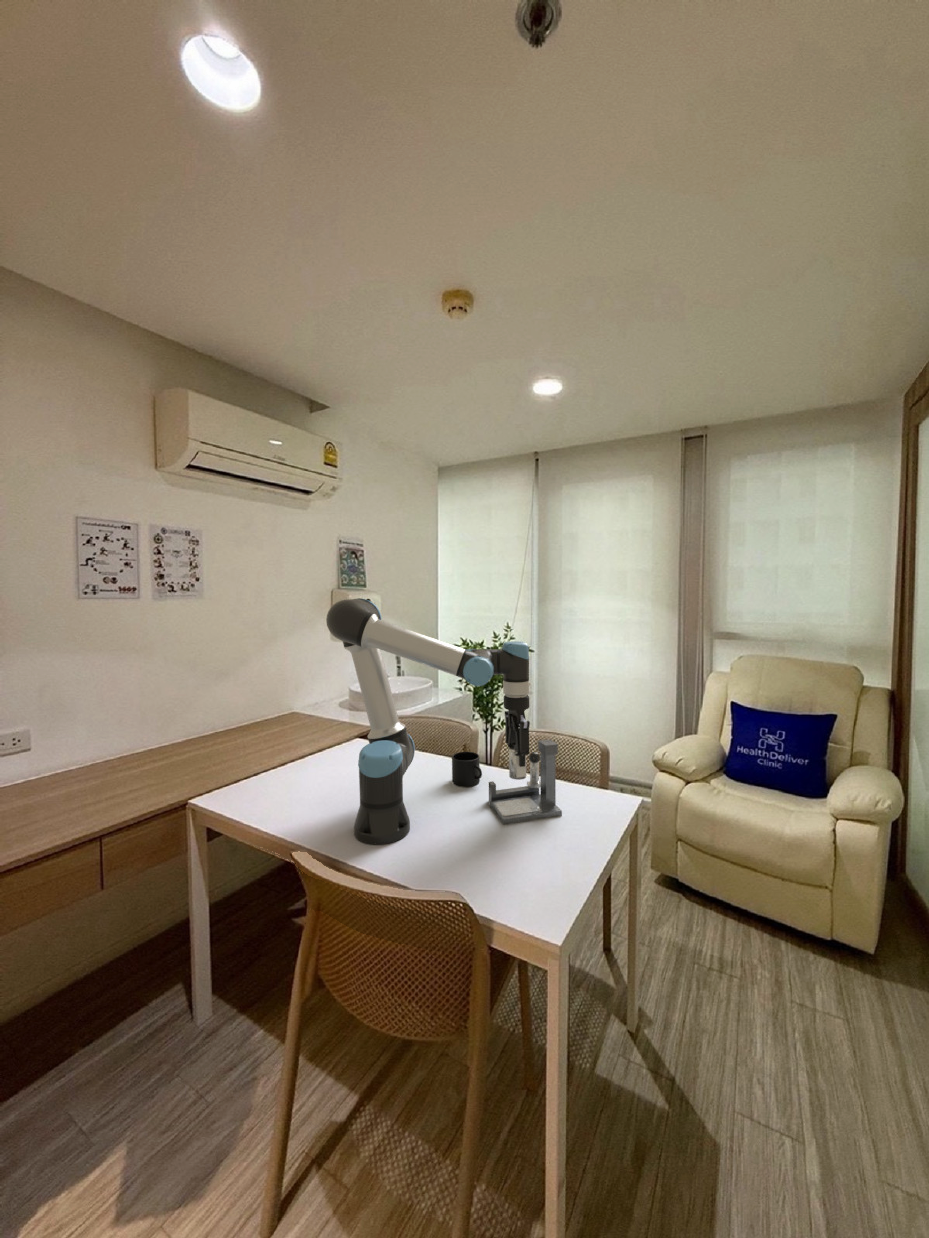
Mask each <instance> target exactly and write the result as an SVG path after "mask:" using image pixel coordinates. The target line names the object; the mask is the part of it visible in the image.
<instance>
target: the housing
mask: <svg viewBox="0 0 929 1238" xmlns="http://www.w3.org/2000/svg"><path fill="white" fill-rule="evenodd" d="M515 754H517V745H516V744H515V747H512V748H510V749H509V748H508V770H509V771H508V773H509V774H508V775H509V778H510V779H512V780H517V781H518V780H524V779H526V778H527V775H526V776H524V777H516V756H515Z"/></svg>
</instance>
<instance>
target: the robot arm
mask: <svg viewBox="0 0 929 1238" xmlns="http://www.w3.org/2000/svg"><path fill="white" fill-rule="evenodd" d="M380 611H381V610H380V609H379V607H378V606H377V605H376V604H375V603H374V602H372V601H370V600H368V599H365V598H359V597H358V598H352V599H351V598H350V599H341V600H339V601H337V602H335V603H334V604H332V605H331V607H329V609H328V612H327V614H326V620H325V621H326V627H327V630H328V631H329V632H330V634H331V635H332V636H333V637H334V638H336V639H337V640H339V641H341V642H342V644H343V648H344V649H345V650H347V651H349V652H350V653H351V657H352V661H353V665H354V669H355V672H356V677H357V680H358V684H359V685H358V686H359V688H360V691H361V692H360V693H361V696H362V700H363V703H364V708H365V712H366V714H367V718H368V723H369V727H370V731H369V733H368V734H367V740H368V744H366V745H364V746H363V747H362V748H361V749H360V751H359V755H358V765H357V766H358V779H359V785H358V786H359V807H358V812H357V814H356V818H355V821H354V823H353V824H354V825H353V832H354V834H353V835H354V837H355V838H356V840H357V841H359V842H361V843H364V844H366V845H367V844H368V845H387V844H391V843H395V842H397V841H400V840H401V839H403V838H405V837H406V836H407V835H408V834H409V833H410V831H411V823H410V822H411V821H410V817H409V814H408V811H407V808H406V806H405V803H404V795H403V794H404V791H403V790H404V787H403V786H404V785H403V783H404V781H403V778H404V775H405V773H406V772H407V771H408V768H409V767H410V765H411V764H412V762H413V760H414V758H415V750H416V749H415V748H416V746H415V742H414V740H413V738H412V736H411V735H410V734H409V733H408V730H407V727H406V724H405V723H403V722H401V721H400V720H399V716H398V712H397V708H396V705H395V700H394V696H393V691H392V689H391V685H390V682H389V681H390V680H389V677H388V674H387V669H386V666H385V662H384V657H383V653H382V651H383V652H386V653H390V654H393V655H395V656H398V657H400V658H404V659H407V660H409V661H412V662H415V663H418V664H421V665H424V666H427V667H429V668H433V669H435V670H438V671H441V672H444V673H447V674H450V675H453V676H455V677H458V678H460V679H463V680H465V681H466V682H468V684H470V685H471V686H475V687H482V686H485V685H486V684H488V683H489V681H490V680H491V679H492V678H493V676H498V675H499V676H500V675H502V676H503V679H502V680H503V681H502V692H503V694H504V696H503V708H504V709H505V710H506V711H504V718H505V724H504V725H505V729H504V730H505V731H504V733H505V735H504V736H505V744H507V747H508V750H509V749H510V748H512V747H515V744H516V745H517V754H515V756H516V777H524V776H526V777H527V755H528V756H529V755H530V725H531V722H530V720H526V715H525V714H526V713H525V711H526V710H528V709H530V696H529V694H530V686H531V682H530V653H529V644H527V642H525V641H516V640H515V641H505V642H503V644H502V648H493V649H492V648H491V649H490V648H484V649H483V648H480V649H479V648H469V649H465V648H463V647H459V646H456V645H453V644H451V643H448V642H445V641H442V640H439V639H436V638H433V637H431V636H427V635H424V634H422V633H420V632H416V631H414V630H410V629H408V628H405V627H402V626H399V625H396V624H394V623H390V622H388V621H385V620H382V614H381V612H380Z"/></svg>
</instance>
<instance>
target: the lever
mask: <svg viewBox="0 0 929 1238" xmlns="http://www.w3.org/2000/svg"><path fill="white" fill-rule="evenodd" d="M528 761H529V776H530V777H529V781H526V786H529V787H530V788H531V789H532V788H539V789H541V783H540V754H539V752H537V751H532V752H529V755H528Z"/></svg>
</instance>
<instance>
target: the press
mask: <svg viewBox="0 0 929 1238" xmlns="http://www.w3.org/2000/svg"><path fill="white" fill-rule="evenodd" d="M558 748H559V744H558V743H557V742H555V741H553V740H552V739H550V738H548V739H541V740H538V741H537V750H538V752H540V754H539V755H540V761H539V781H540V783H541V787H540V788H532V789H531V788H530V787H529V786H528V785H526V786H519V787H511V788H503V789H497V785H496V782H495V781H494V780H493V781H488V802H489V808H490V809H491V810H492V812H494V814H495V815H496V816H497V818H498V819H499V821H501V823H502V825H504V826H505V825H511V824H517V823H522V822H523V823H524V822H529V821H535V820H541V819H542V820H543V819H548V818H554V817H555V818H556V817H560V816H562V815H563V810H562V809H561V808H560V807H558V805H556V800H557V799H556V798H557V797H556V794H557V793H556V755H558V754H559V753H558V752H559V749H558Z"/></svg>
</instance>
